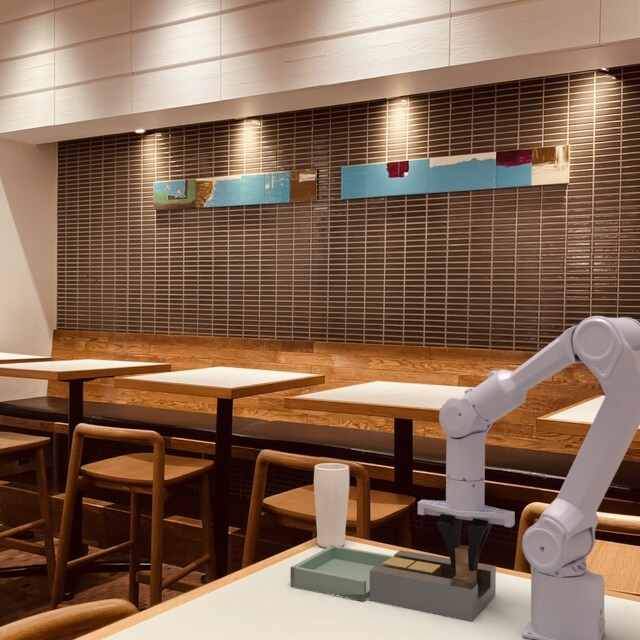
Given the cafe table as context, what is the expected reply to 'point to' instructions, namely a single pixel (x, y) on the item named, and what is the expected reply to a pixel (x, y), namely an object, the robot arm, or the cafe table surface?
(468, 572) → the stepped wooden block
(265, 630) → the cafe table surface
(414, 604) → the grey open tray
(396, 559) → the tan wooden square block
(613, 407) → the robot arm
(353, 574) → the tray
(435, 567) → the tan square block
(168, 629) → the cafe table surface
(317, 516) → the drinking glass
